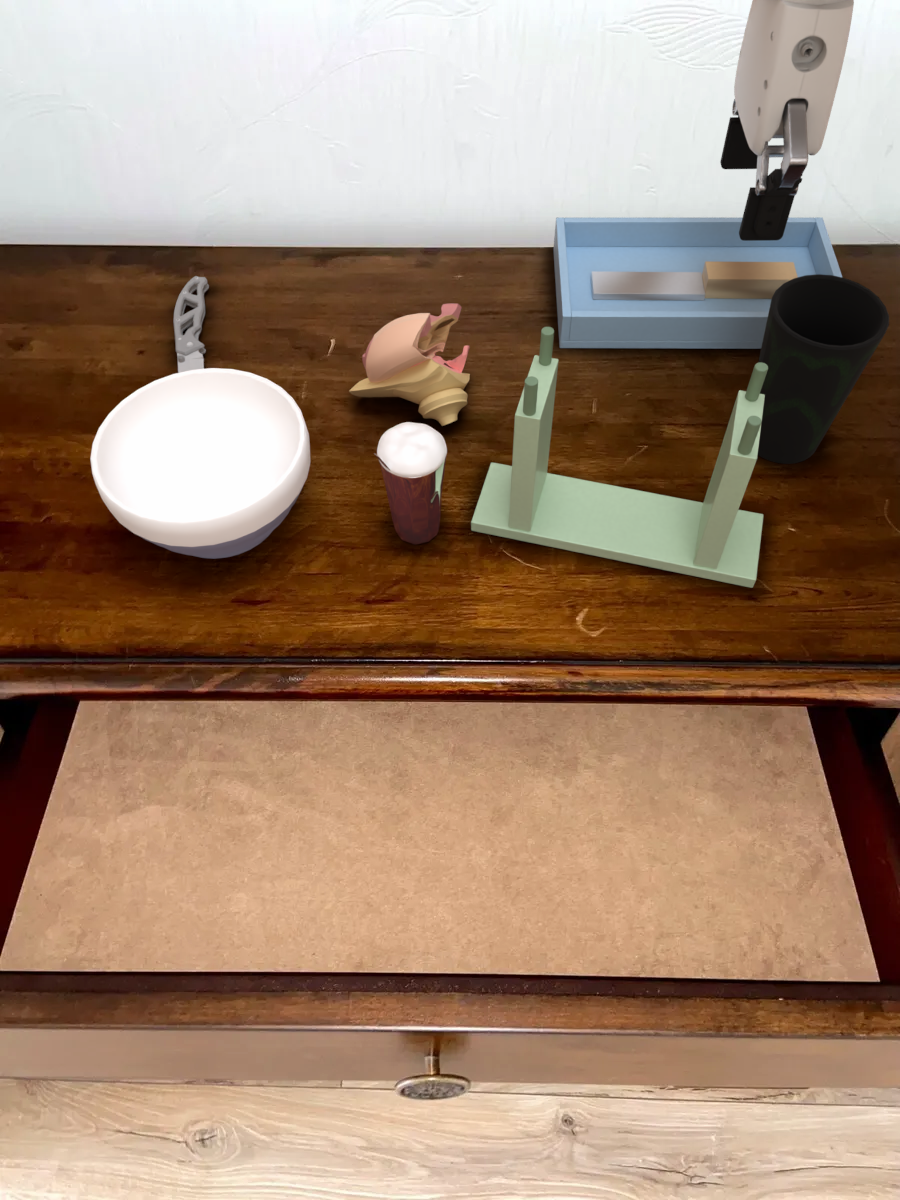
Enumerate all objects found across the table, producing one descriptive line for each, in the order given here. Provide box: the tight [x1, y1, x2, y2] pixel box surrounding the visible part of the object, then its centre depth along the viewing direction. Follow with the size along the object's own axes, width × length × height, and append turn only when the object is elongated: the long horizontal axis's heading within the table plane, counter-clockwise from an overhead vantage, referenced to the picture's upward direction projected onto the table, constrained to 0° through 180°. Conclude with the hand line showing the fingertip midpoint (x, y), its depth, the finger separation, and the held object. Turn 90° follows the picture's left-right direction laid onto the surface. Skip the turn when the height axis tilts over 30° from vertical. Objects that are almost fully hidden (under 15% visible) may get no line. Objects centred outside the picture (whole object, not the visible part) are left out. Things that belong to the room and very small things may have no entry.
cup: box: [757, 274, 890, 465], centre depth 68 cm, size 8×8×12 cm
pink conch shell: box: [348, 303, 471, 427], centre depth 73 cm, size 9×10×10 cm
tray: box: [552, 216, 844, 350], centre depth 81 cm, size 23×13×3 cm, turn 89°
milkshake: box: [373, 421, 448, 545], centre depth 64 cm, size 4×5×10 cm
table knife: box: [591, 261, 798, 301], centre depth 81 cm, size 17×3×2 cm, turn 88°
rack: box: [470, 326, 768, 589], centre depth 62 cm, size 20×6×14 cm, turn 75°
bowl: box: [89, 367, 312, 560], centre depth 66 cm, size 14×14×8 cm
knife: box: [172, 275, 210, 373], centre depth 79 cm, size 2×18×3 cm
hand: (749, 201), depth 74 cm, fingers open, 9 cm apart
